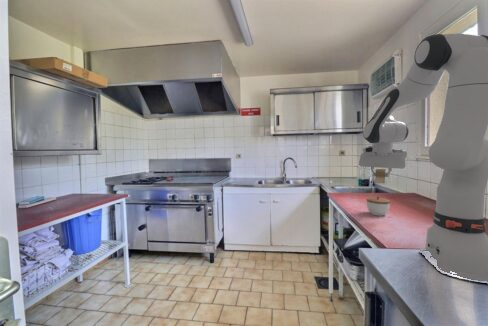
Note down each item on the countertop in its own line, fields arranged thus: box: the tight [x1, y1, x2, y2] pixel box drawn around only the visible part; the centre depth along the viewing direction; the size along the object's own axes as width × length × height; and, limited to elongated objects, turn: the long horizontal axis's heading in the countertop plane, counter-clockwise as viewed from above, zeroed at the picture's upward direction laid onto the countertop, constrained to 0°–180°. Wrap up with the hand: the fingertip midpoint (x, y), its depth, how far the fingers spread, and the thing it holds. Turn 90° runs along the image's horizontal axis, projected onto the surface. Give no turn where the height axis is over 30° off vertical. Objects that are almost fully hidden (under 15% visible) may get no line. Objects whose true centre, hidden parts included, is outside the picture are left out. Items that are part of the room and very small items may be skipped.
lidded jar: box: [366, 196, 391, 217], centre depth 127 cm, size 11×11×9 cm
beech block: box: [374, 167, 387, 184], centre depth 123 cm, size 12×4×6 cm, turn 149°
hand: (380, 176), depth 123 cm, fingers closed on beech block, 4 cm apart
